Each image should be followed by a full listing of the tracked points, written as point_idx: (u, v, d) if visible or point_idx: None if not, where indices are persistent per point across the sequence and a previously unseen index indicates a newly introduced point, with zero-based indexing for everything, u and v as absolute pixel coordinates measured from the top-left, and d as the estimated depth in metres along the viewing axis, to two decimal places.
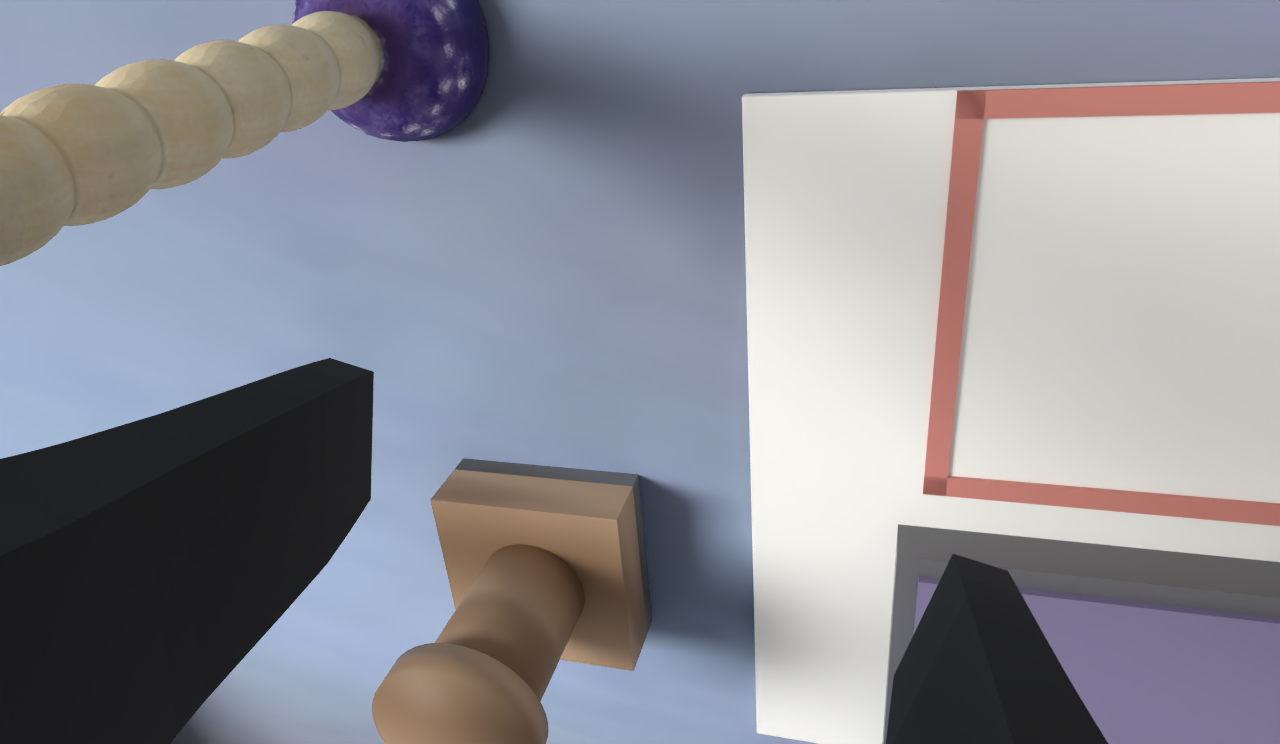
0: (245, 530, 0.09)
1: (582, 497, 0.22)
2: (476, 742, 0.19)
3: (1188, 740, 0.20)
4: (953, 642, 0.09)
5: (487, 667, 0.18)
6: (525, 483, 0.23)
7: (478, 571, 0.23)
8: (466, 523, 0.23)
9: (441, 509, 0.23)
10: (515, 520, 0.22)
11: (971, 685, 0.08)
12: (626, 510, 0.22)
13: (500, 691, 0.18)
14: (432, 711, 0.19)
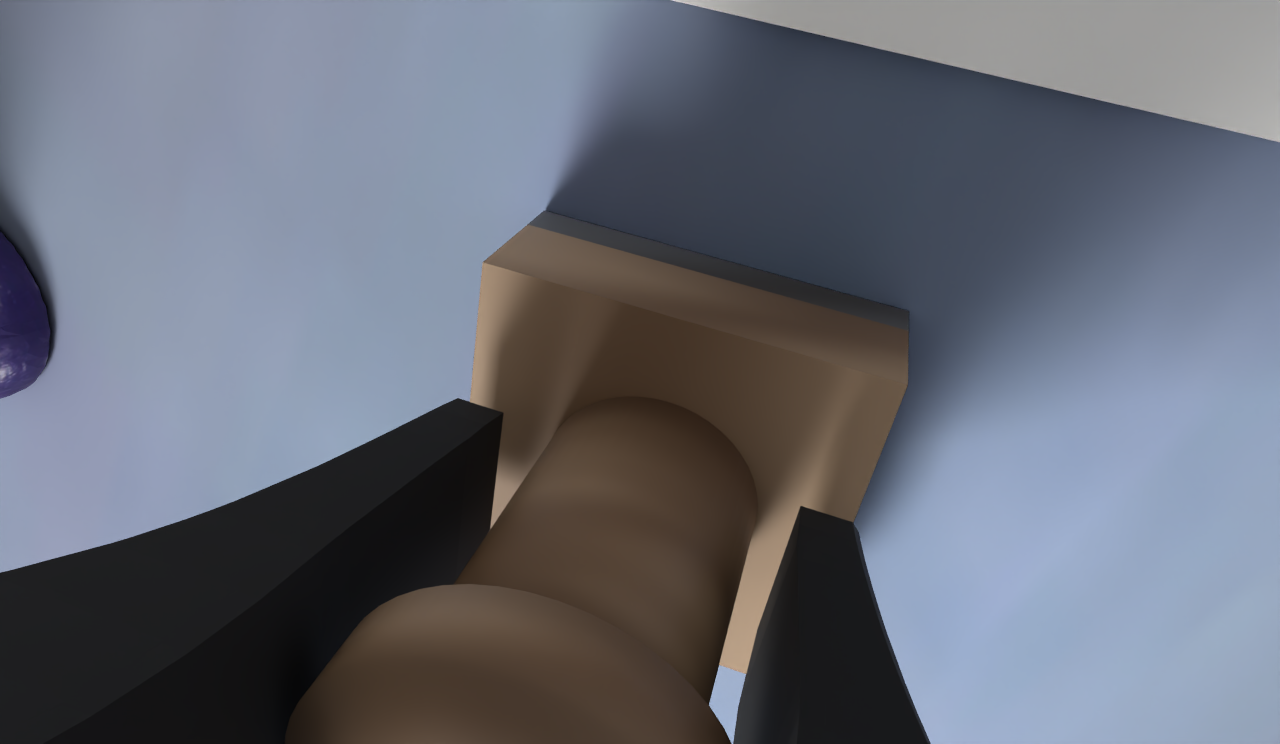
0: (393, 582, 0.09)
1: None
2: None
3: None
4: (784, 587, 0.09)
5: None
6: None
7: None
8: None
9: None
10: None
11: (787, 623, 0.08)
12: (530, 247, 0.11)
13: (352, 650, 0.07)
14: None
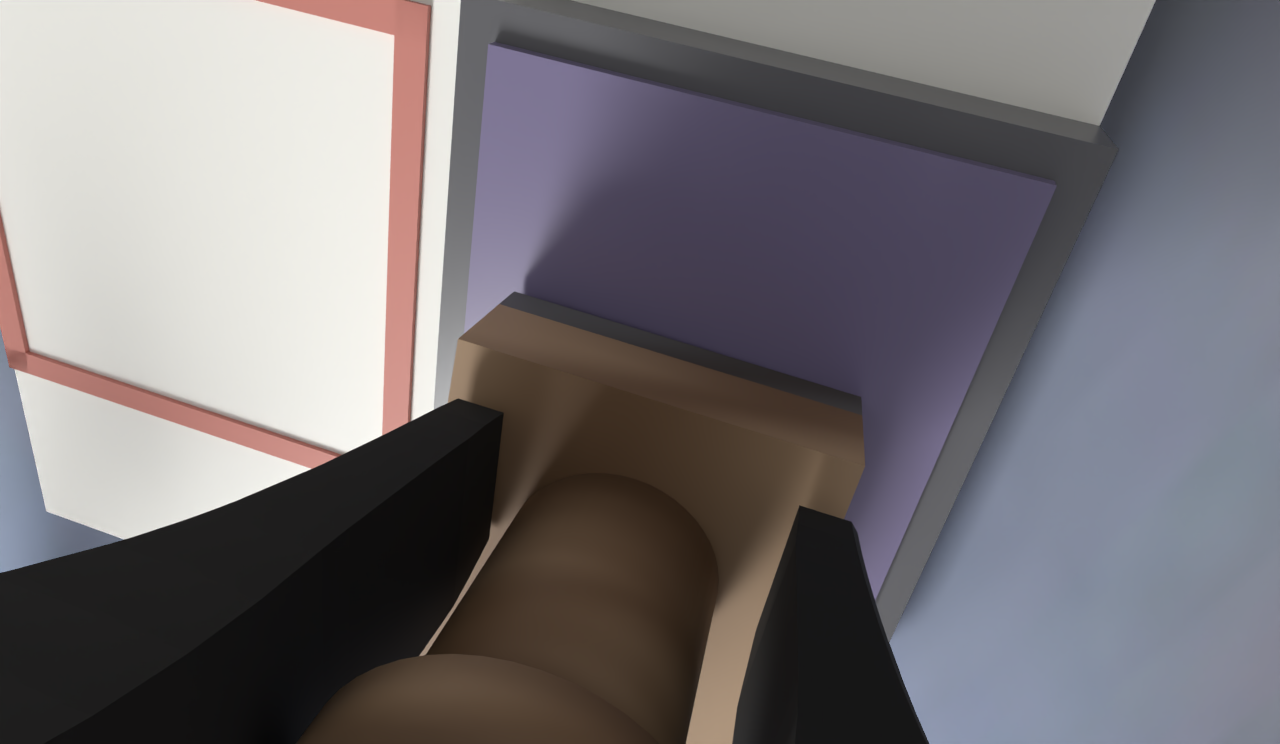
0: (393, 583, 0.09)
1: None
2: None
3: (720, 327, 0.12)
4: (783, 586, 0.09)
5: (316, 716, 0.07)
6: None
7: None
8: None
9: (427, 644, 0.12)
10: None
11: (786, 623, 0.08)
12: (503, 325, 0.11)
13: (331, 723, 0.07)
14: None
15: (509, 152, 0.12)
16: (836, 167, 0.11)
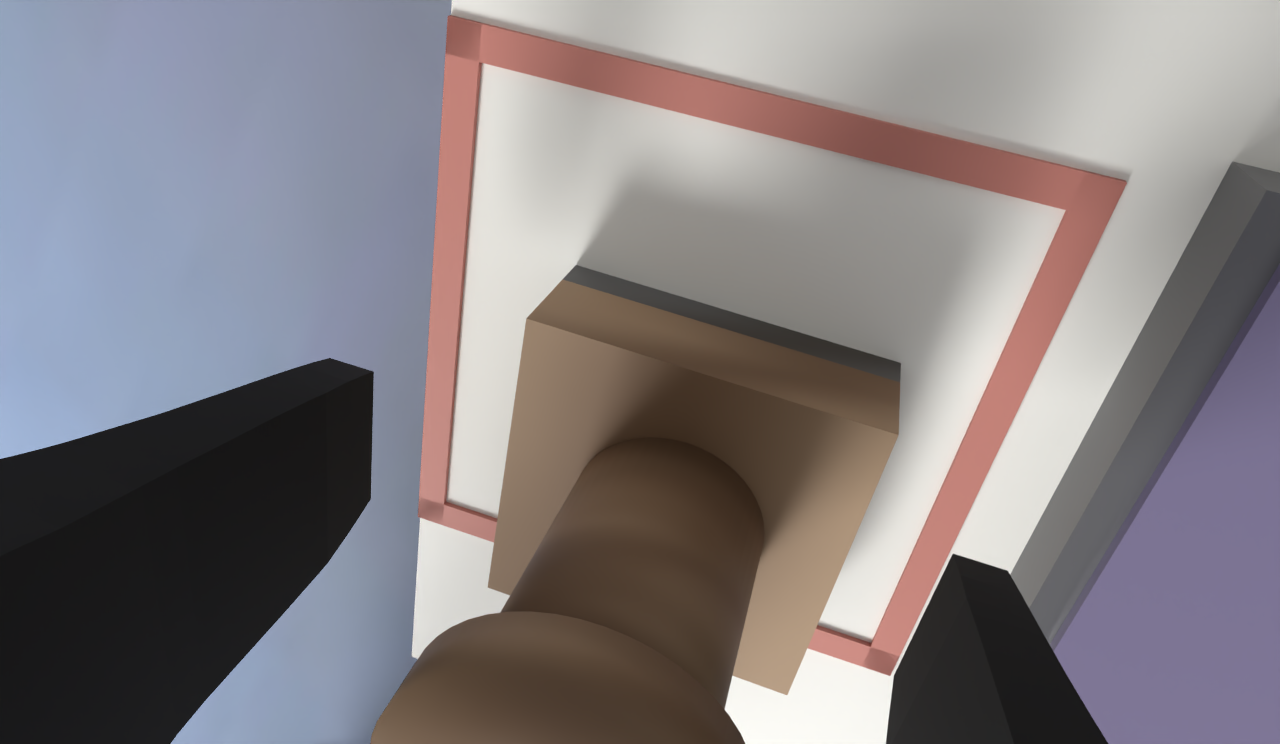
0: (244, 530, 0.09)
1: None
2: None
3: None
4: (953, 642, 0.09)
5: (419, 659, 0.09)
6: None
7: None
8: (531, 560, 0.14)
9: (504, 581, 0.14)
10: (526, 484, 0.13)
11: (971, 685, 0.08)
12: (566, 302, 0.12)
13: (433, 666, 0.08)
14: None
15: (1273, 365, 0.10)
16: None
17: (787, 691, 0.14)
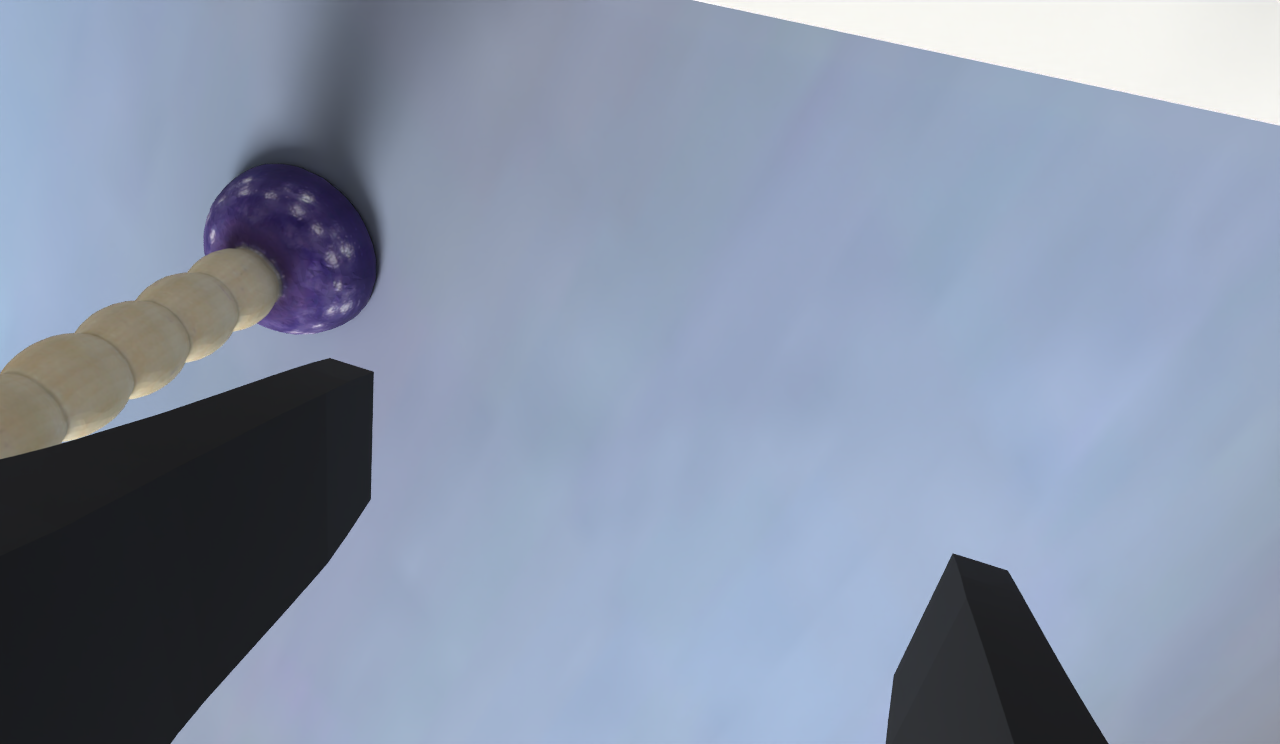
0: (244, 530, 0.09)
1: None
2: None
3: None
4: (953, 642, 0.09)
5: None
6: None
7: None
8: None
9: None
10: None
11: (970, 685, 0.08)
12: None
13: None
14: None
15: None
16: None
17: None
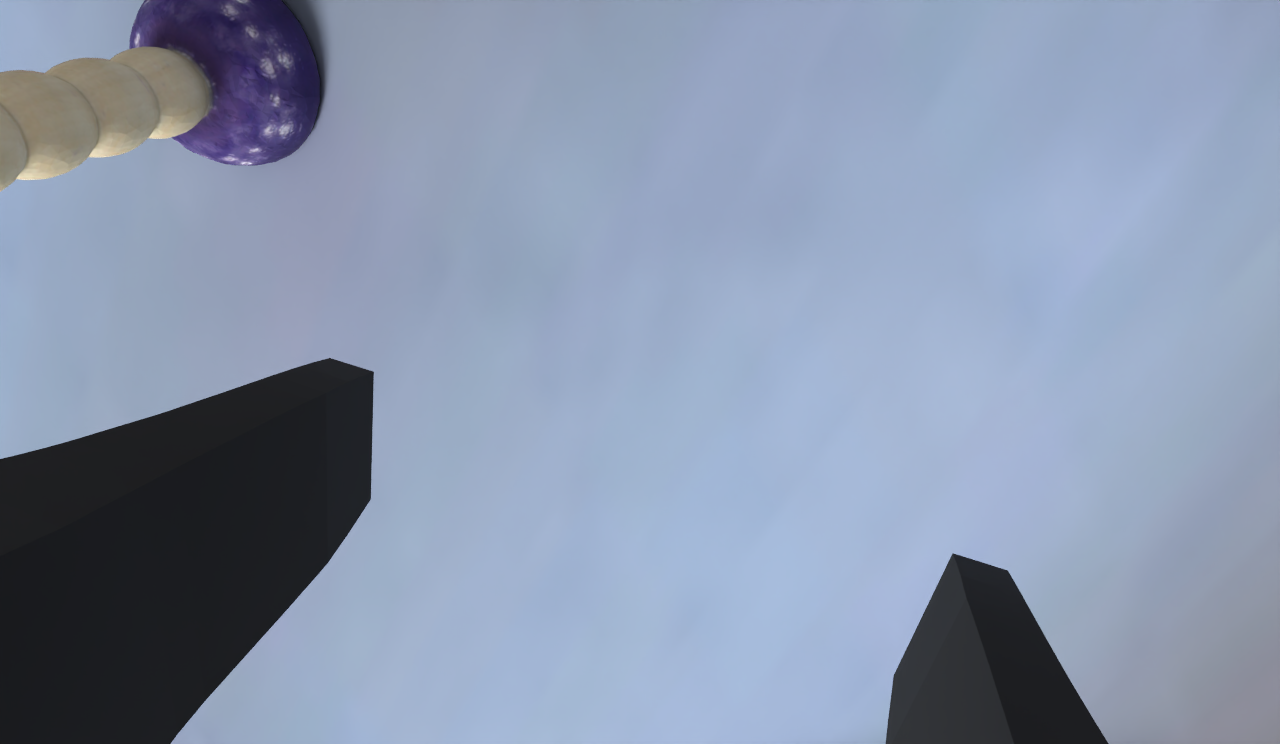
0: (244, 529, 0.09)
1: None
2: None
3: None
4: (953, 642, 0.09)
5: None
6: None
7: None
8: None
9: None
10: None
11: (971, 685, 0.08)
12: None
13: None
14: None
15: None
16: None
17: None
